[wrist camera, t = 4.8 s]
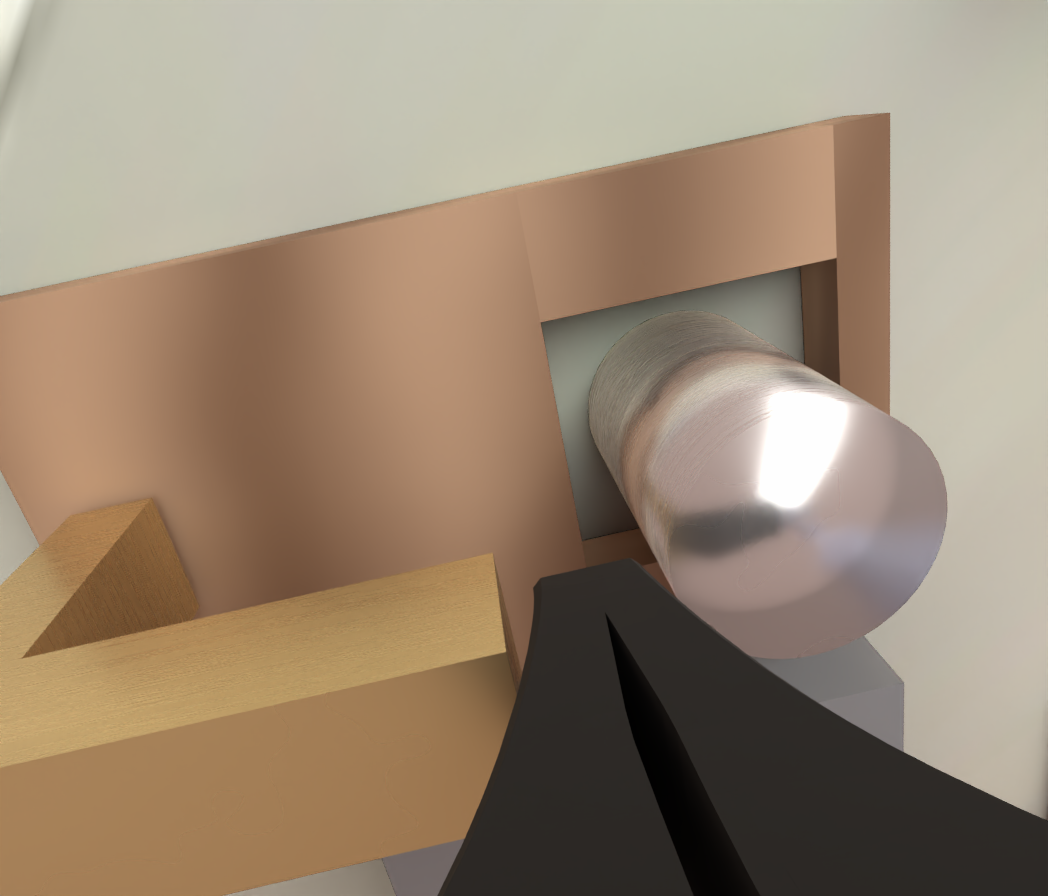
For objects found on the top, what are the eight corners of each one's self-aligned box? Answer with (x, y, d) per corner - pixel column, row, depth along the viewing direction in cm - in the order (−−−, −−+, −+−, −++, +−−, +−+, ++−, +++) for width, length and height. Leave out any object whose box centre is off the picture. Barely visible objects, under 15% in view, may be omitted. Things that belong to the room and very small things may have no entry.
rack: (846, 615, 18) (903, 682, 16) (852, 863, 22) (901, 947, 20) (372, 725, 18) (362, 809, 16) (455, 958, 22) (457, 1055, 19)
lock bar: (475, 425, 14) (506, 651, 8) (502, 537, 15) (547, 818, 8) (69, 515, 13) (-234, 820, 7) (122, 622, 14) (-108, 973, 8)
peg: (764, 292, 15) (952, 375, 10) (776, 466, 17) (942, 625, 11) (573, 333, 15) (652, 442, 10) (603, 505, 17) (686, 685, 11)
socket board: (845, 115, 14) (889, 112, 13) (854, 563, 18) (889, 597, 17) (-26, 301, 14) (-79, 319, 12) (177, 717, 18) (155, 766, 16)
